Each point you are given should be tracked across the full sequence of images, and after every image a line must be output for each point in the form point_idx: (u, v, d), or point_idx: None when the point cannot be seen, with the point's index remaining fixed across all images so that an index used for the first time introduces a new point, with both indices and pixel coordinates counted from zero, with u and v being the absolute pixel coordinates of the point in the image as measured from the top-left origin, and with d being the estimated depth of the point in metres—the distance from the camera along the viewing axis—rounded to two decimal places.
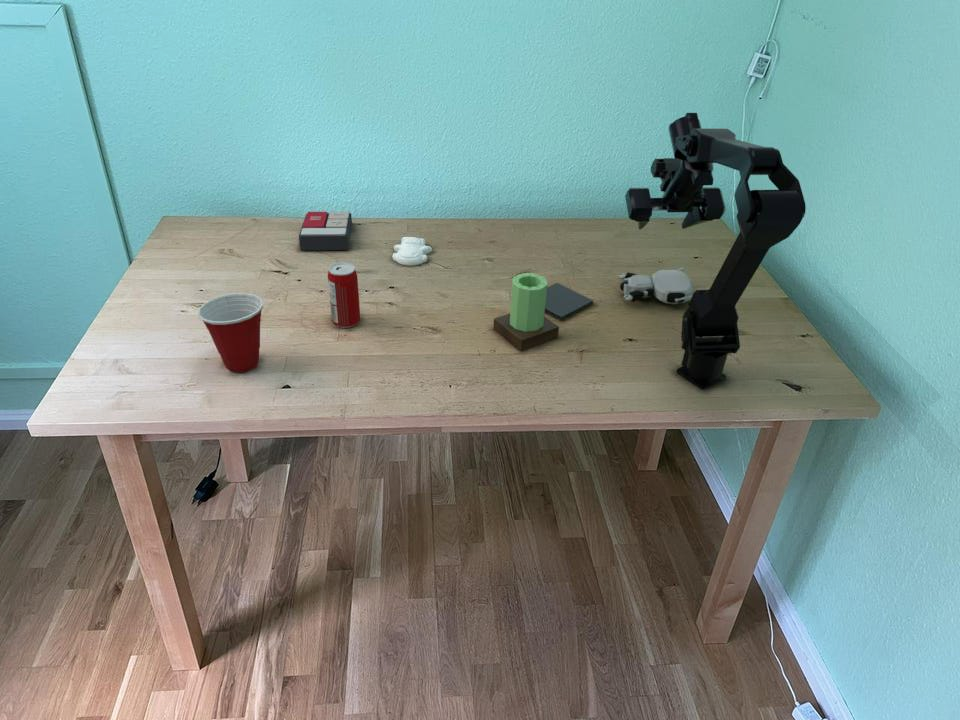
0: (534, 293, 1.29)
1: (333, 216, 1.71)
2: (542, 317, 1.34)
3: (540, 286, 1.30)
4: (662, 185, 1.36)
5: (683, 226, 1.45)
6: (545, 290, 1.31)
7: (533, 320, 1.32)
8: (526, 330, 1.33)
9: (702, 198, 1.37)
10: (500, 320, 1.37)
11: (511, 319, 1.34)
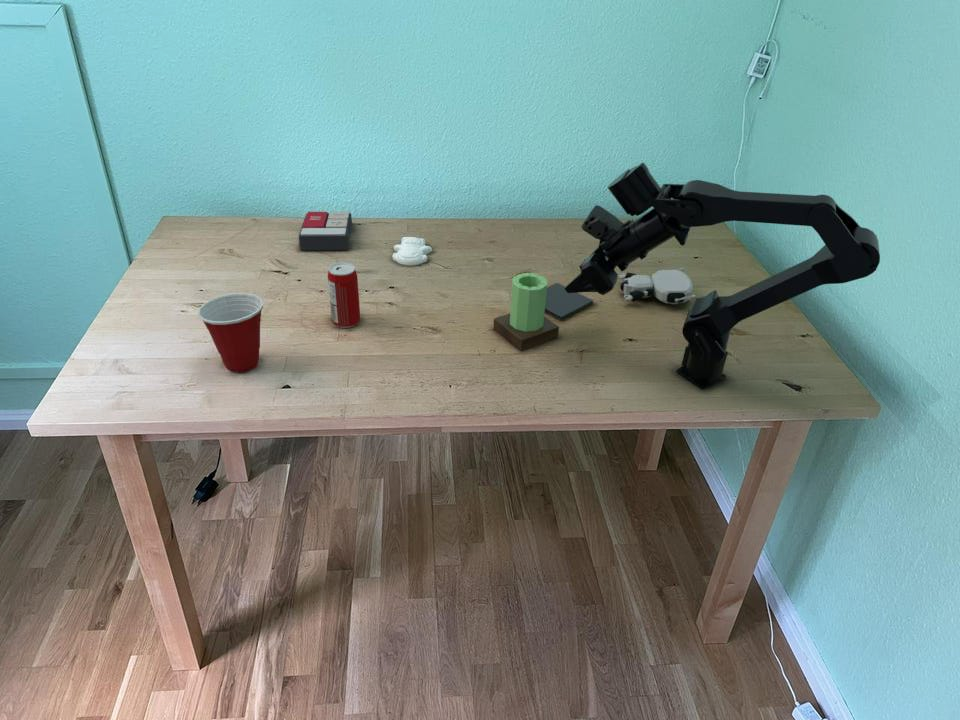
0: (534, 293, 1.29)
1: (333, 216, 1.71)
2: (542, 317, 1.34)
3: (540, 286, 1.30)
4: (608, 244, 1.19)
5: None
6: (545, 290, 1.31)
7: (533, 320, 1.32)
8: (526, 330, 1.33)
9: None
10: (500, 320, 1.37)
11: (511, 319, 1.34)
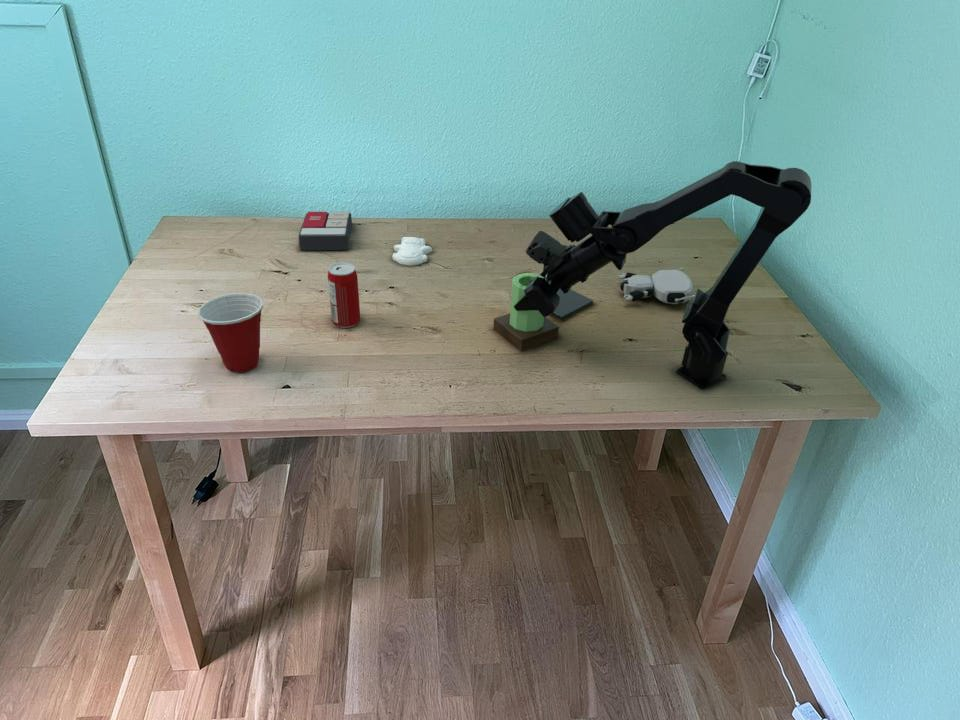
0: None
1: (333, 216, 1.71)
2: (542, 317, 1.34)
3: None
4: (550, 269, 1.25)
5: None
6: None
7: (533, 320, 1.32)
8: (526, 330, 1.33)
9: None
10: (500, 320, 1.37)
11: (511, 319, 1.34)
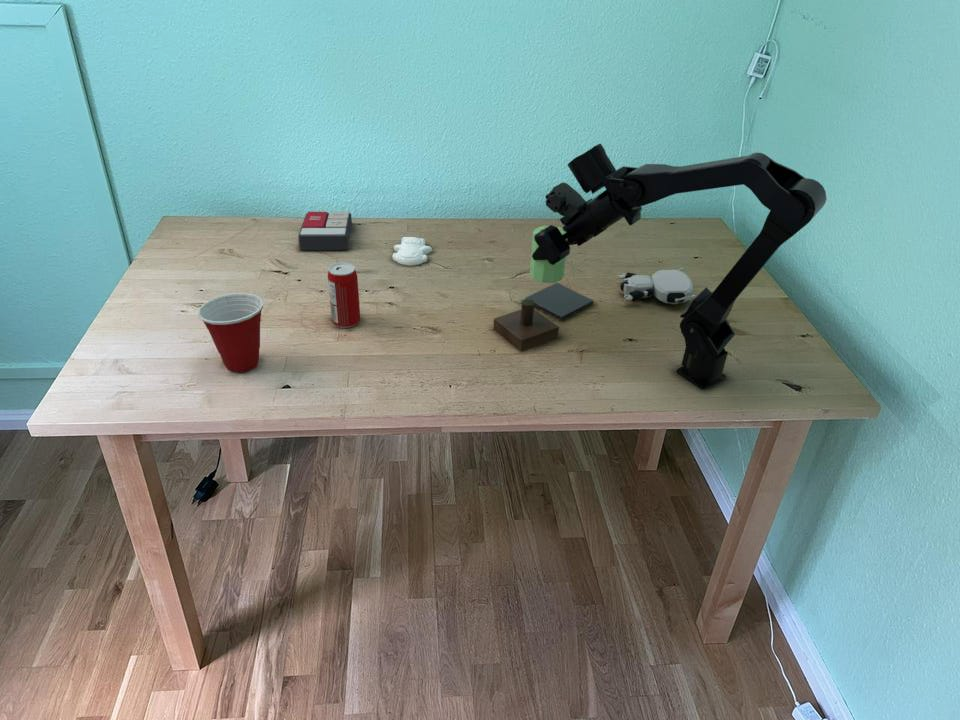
0: None
1: (333, 216, 1.71)
2: (560, 270, 1.36)
3: None
4: (566, 219, 1.27)
5: None
6: None
7: (550, 271, 1.35)
8: (542, 281, 1.36)
9: None
10: (500, 320, 1.37)
11: (530, 269, 1.38)
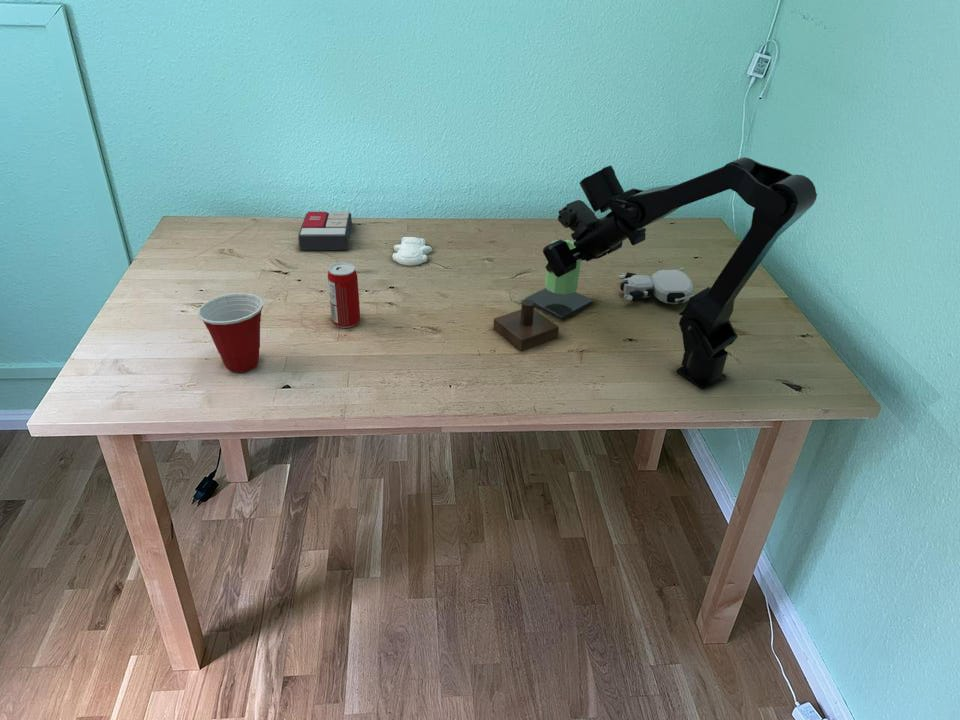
0: None
1: (333, 216, 1.71)
2: (572, 283, 1.42)
3: None
4: (576, 235, 1.33)
5: None
6: None
7: (561, 283, 1.42)
8: (554, 292, 1.43)
9: None
10: (500, 320, 1.37)
11: (545, 280, 1.45)
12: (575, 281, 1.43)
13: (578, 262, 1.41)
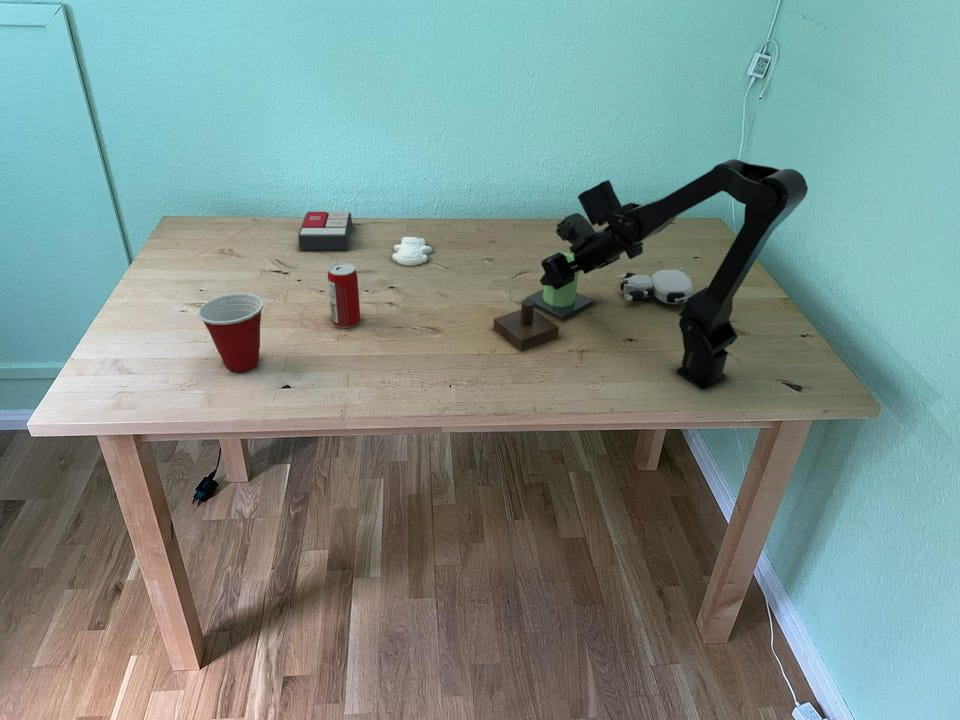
0: None
1: (333, 216, 1.71)
2: (570, 296, 1.44)
3: None
4: (574, 248, 1.35)
5: None
6: None
7: (559, 296, 1.43)
8: (552, 304, 1.45)
9: None
10: (500, 320, 1.37)
11: (543, 292, 1.47)
12: (573, 294, 1.44)
13: (576, 275, 1.42)
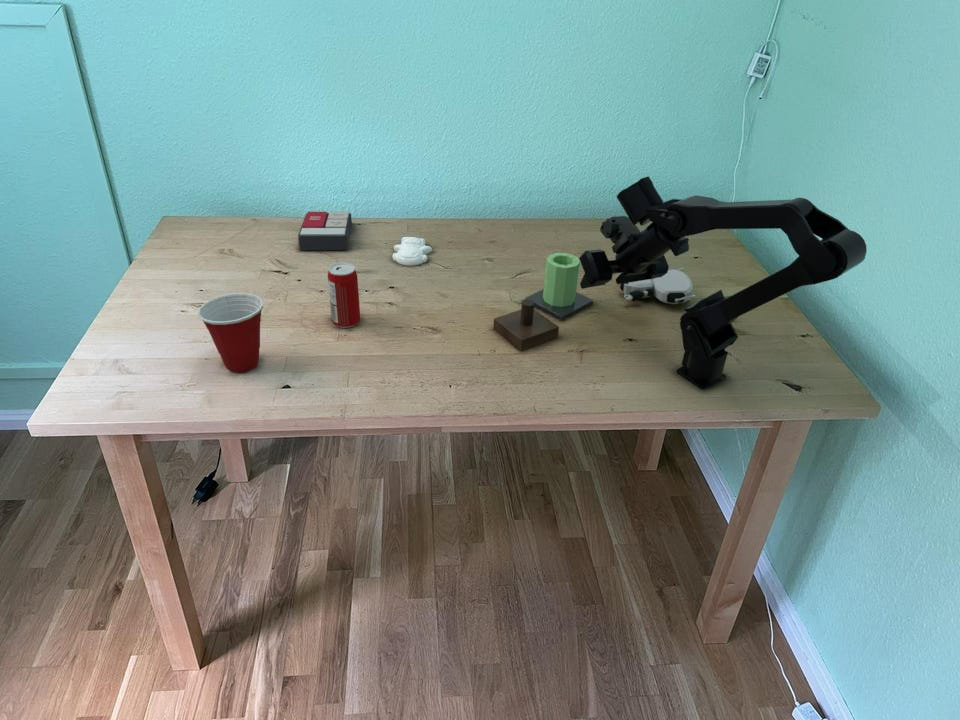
0: (560, 271, 1.40)
1: (333, 216, 1.71)
2: (570, 296, 1.44)
3: (568, 265, 1.40)
4: (616, 247, 1.29)
5: (619, 282, 1.41)
6: (573, 270, 1.41)
7: (559, 296, 1.43)
8: (552, 304, 1.45)
9: None
10: (500, 320, 1.37)
11: (543, 292, 1.47)
12: (573, 294, 1.44)
13: (576, 275, 1.42)
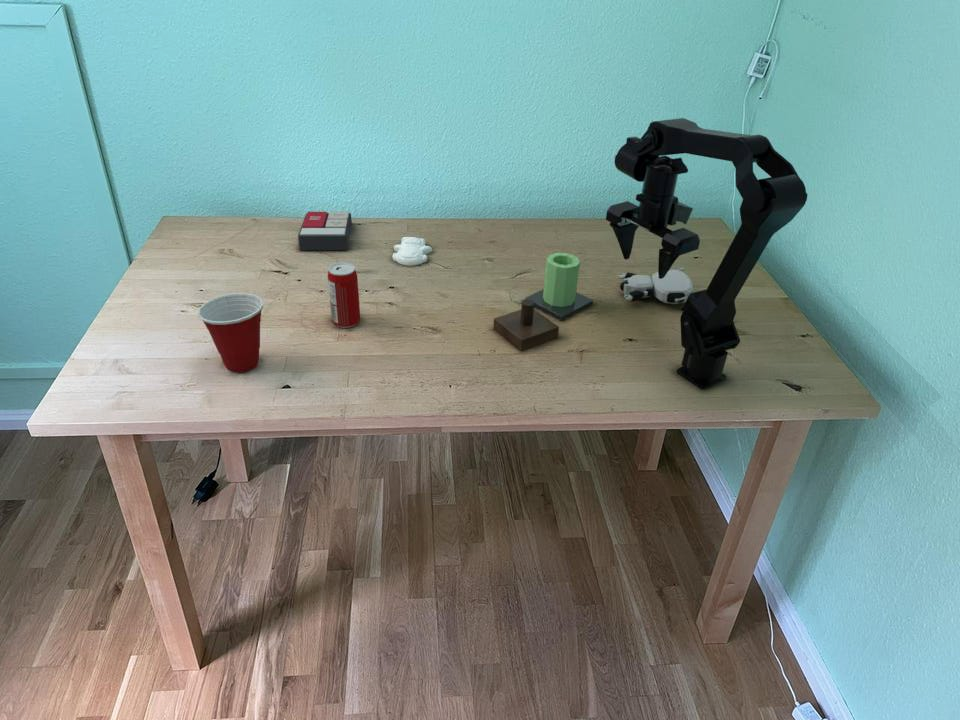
0: (560, 271, 1.40)
1: (333, 216, 1.71)
2: (570, 296, 1.44)
3: (568, 265, 1.40)
4: None
5: None
6: (573, 270, 1.41)
7: (559, 296, 1.43)
8: (552, 304, 1.45)
9: None
10: (500, 320, 1.37)
11: (543, 292, 1.47)
12: (573, 294, 1.44)
13: (576, 275, 1.42)
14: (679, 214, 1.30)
